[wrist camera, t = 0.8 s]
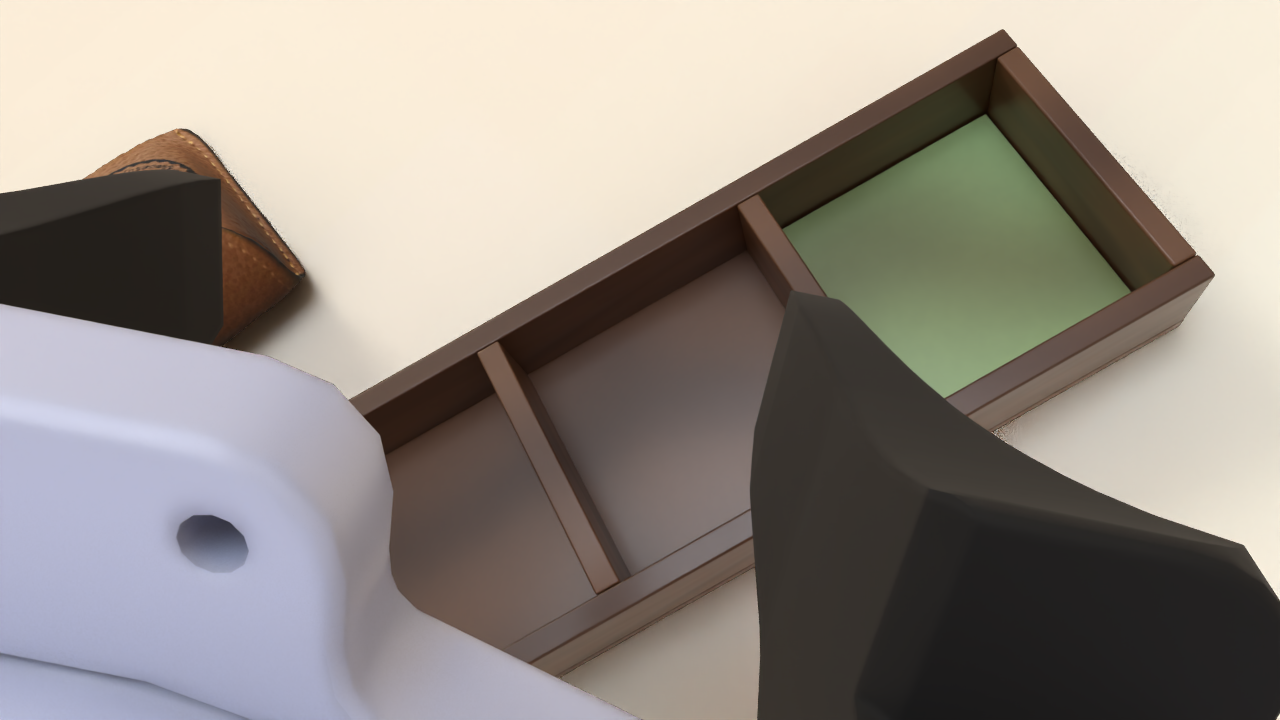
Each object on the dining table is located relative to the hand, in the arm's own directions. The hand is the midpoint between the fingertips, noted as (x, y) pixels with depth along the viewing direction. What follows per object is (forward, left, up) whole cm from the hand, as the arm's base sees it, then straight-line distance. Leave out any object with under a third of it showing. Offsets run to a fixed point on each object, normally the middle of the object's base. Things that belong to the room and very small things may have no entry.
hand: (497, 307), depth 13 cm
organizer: (+2, -2, -14) cm, 14 cm away
